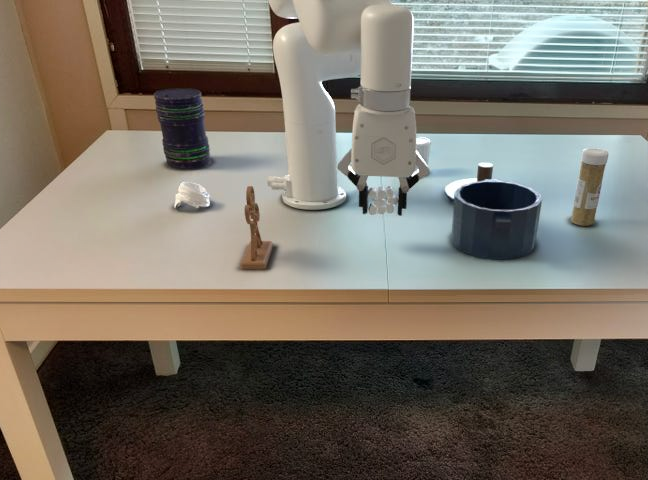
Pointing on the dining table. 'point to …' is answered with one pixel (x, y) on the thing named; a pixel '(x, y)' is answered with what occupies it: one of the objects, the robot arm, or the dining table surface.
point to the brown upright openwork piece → (255, 237)
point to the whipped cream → (192, 195)
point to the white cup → (423, 149)
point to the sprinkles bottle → (589, 186)
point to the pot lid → (482, 174)
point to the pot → (495, 219)
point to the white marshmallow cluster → (382, 200)
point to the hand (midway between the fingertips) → (382, 210)
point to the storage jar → (183, 128)
